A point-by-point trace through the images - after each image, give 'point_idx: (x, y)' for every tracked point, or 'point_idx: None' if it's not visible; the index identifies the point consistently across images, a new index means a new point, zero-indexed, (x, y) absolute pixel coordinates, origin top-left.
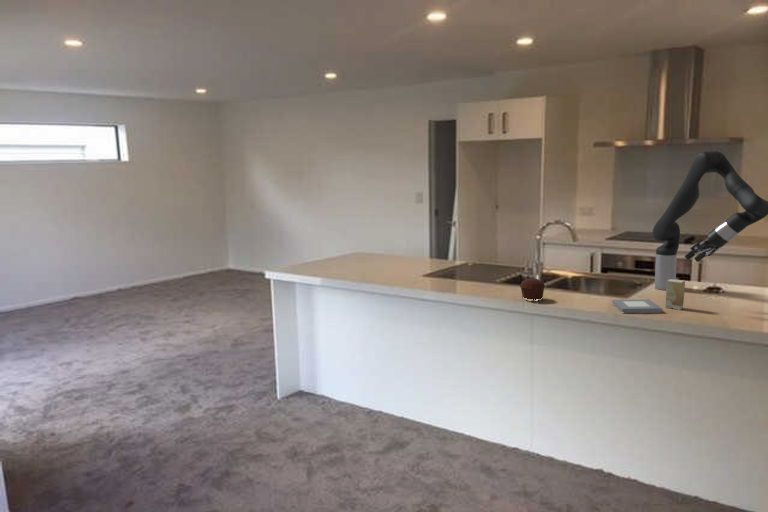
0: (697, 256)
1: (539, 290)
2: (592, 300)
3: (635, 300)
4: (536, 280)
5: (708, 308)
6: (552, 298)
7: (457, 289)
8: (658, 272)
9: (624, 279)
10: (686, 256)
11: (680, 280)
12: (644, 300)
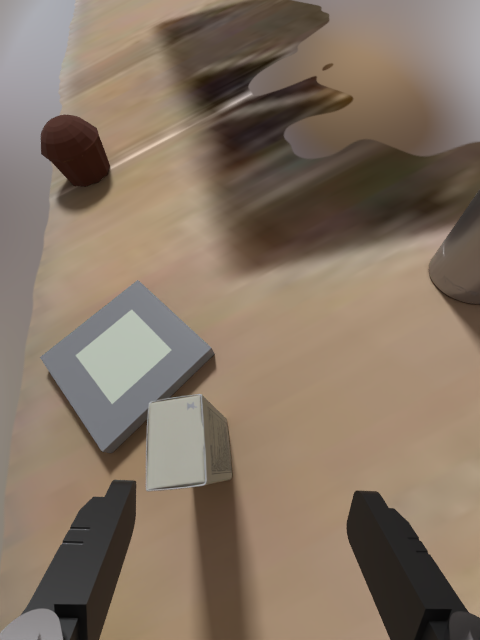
0: (378, 533)
1: (61, 162)
2: (153, 239)
3: (167, 327)
4: (51, 131)
5: (303, 579)
6: (121, 185)
7: (99, 84)
8: (462, 220)
9: (452, 154)
10: (88, 513)
11: (196, 456)
12: (183, 346)
